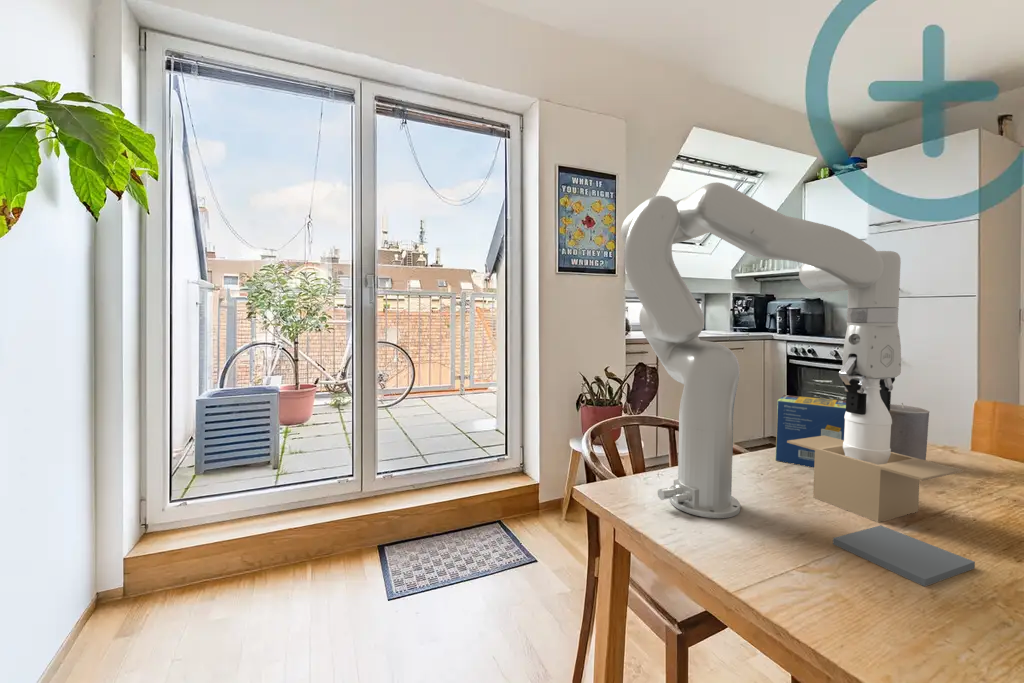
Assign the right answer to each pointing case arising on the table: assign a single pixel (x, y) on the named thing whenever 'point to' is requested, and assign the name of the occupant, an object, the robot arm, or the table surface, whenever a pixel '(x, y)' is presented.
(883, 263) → the robot arm
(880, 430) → the water bottle
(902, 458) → the carton
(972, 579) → the table surface
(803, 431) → the protein box
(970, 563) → the slate mat
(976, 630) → the table surface
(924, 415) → the pillar candle
